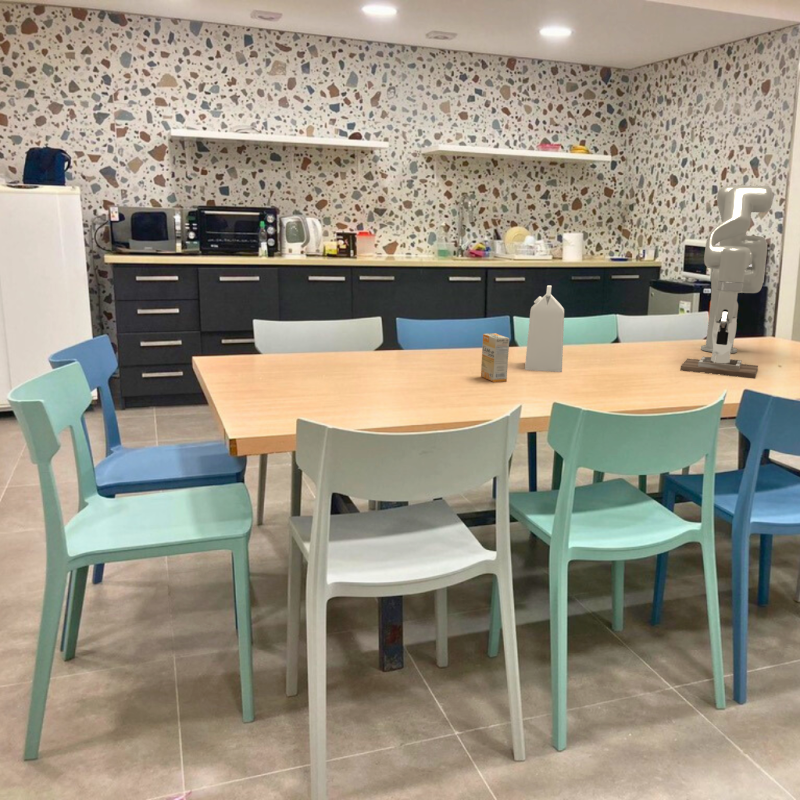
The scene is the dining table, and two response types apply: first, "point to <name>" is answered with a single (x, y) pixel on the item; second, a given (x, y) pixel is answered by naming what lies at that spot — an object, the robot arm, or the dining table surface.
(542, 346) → the milk
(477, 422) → the dining table surface
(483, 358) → the supplement box
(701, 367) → the walnut board
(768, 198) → the robot arm
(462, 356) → the dining table surface
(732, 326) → the beer glass
